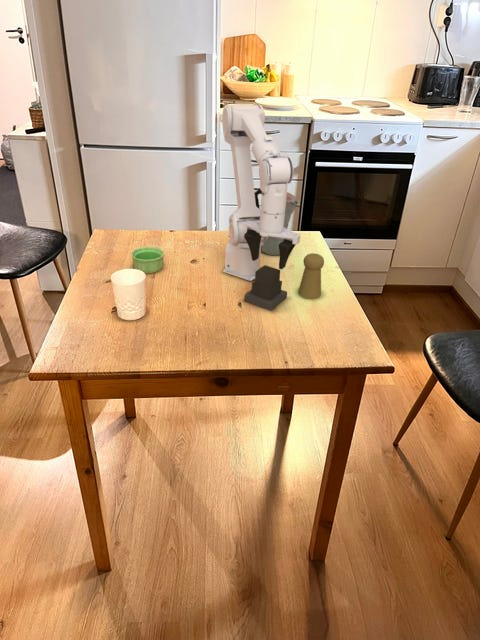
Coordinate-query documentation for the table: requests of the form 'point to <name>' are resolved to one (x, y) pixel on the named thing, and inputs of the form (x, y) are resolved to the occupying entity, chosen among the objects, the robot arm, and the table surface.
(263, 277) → the top pad
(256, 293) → the middle pad
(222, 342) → the table surface
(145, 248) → the ramekin
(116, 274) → the white cup
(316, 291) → the olive game pawn
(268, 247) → the moka pot
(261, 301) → the base pad
